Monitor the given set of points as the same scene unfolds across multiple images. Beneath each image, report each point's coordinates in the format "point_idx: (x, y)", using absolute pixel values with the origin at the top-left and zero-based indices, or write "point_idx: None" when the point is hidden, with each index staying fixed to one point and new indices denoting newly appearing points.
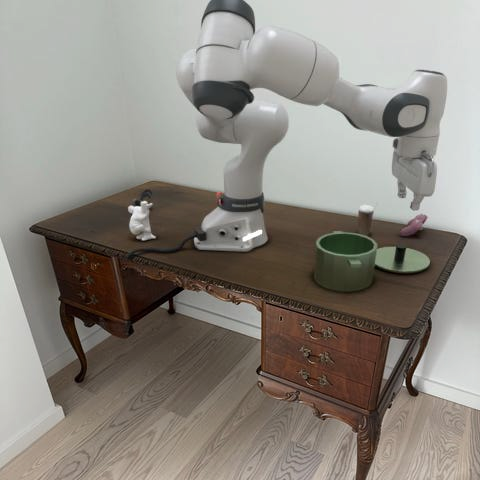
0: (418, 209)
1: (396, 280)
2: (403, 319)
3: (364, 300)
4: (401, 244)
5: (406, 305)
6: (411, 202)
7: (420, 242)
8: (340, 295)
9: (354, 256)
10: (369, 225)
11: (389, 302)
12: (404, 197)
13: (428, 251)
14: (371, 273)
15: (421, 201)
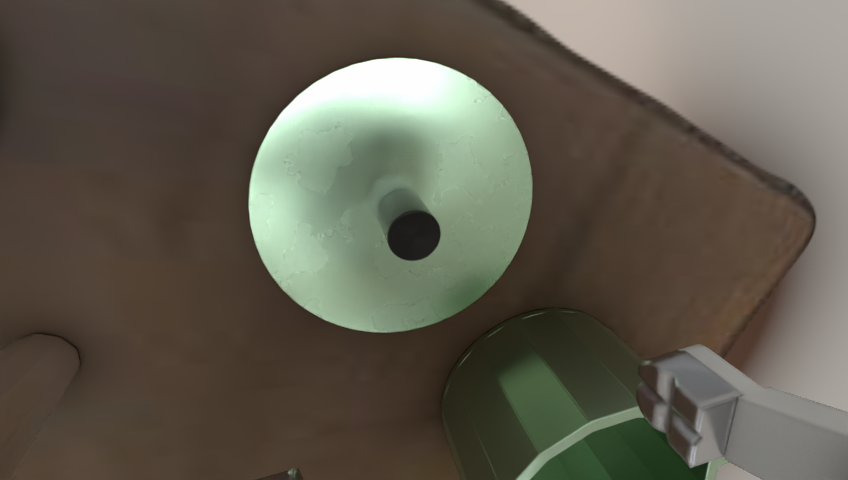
0: (699, 347)
1: (560, 228)
2: (779, 228)
3: (667, 324)
4: (389, 233)
5: (718, 212)
6: (706, 460)
7: (60, 31)
8: None
9: (716, 463)
10: (25, 378)
11: (692, 259)
12: (297, 476)
13: (221, 13)
14: (618, 341)
15: (811, 401)
